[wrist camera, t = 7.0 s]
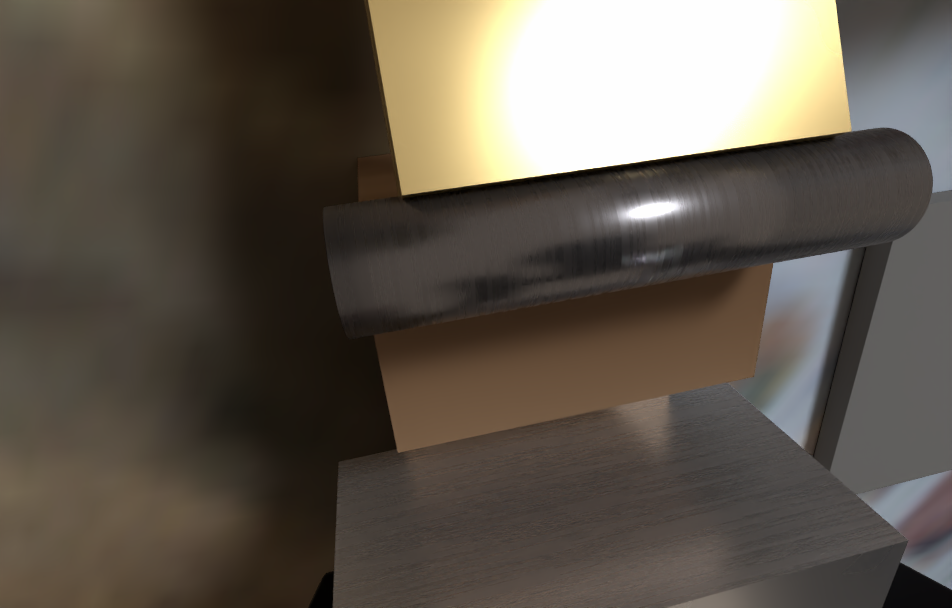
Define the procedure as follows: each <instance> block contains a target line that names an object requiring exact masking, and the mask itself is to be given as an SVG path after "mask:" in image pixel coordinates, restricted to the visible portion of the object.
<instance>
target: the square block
mask: <svg viewBox="0 0 952 608" xmlns="http://www.w3.org/2000/svg"><path fill="white" fill-rule="evenodd" d="M907 543H908V540H907V539H906V538H905V537H904V536H903V535H902V534H901V533H899V532H898V531H897V530H896V529H895V528H894V527H893V526H891V525H890V524H889V523H888V522H887V521H886V520H884V519H883V518H882V517H881V516H880V515H879V514H878V513H876V512H875V511H874V510H873V509H872V508H871V507H870V506H868V505H867V504H866V503H865V502H864V501H863V500H861V499H860V498H859V497H858V496H857V495H856V494H855V493H853V492H852V491H851V490H850V489H849V488H848V487H847V486H845V485H844V484H843V483H842V482H841V481H840V480H838V479H837V478H836V477H835V476H834V475H833V474H832V473H830V472H829V471H828V470H827V469H826V468H825V467H824V466H822V465H821V464H820V463H819V462H818V461H817V460H816V459H814V458H813V457H812V456H811V455H810V454H809V453H807V452H806V451H805V450H804V449H803V448H802V447H801V446H799V445H798V444H797V443H796V442H795V441H794V440H793V439H791V438H790V437H789V436H788V435H787V434H786V433H784V432H783V431H782V430H781V429H780V428H779V427H778V426H776V425H775V424H774V423H773V422H772V421H771V420H770V419H768V418H767V417H766V416H765V415H764V414H763V413H761V412H760V411H759V410H758V409H757V408H756V407H755V406H753V405H752V404H751V403H750V402H749V401H748V400H747V399H745V398H744V397H743V396H742V395H741V394H740V393H738V392H737V391H736V390H735V389H734V388H733V387H732V386H730V385H729V384H728V383H722V384H717V385H713V386H708V387H703V388H699V389H694V390H689V391H685V392H680V393H675V394H671V395H666V396H661V397H657V398H652V399H647V400H643V401H638V402H633V403H629V404H624V405H619V406H615V407H610V408H605V409H601V410H596V411H591V412H587V413H582V414H577V415H573V416H568V417H563V418H559V419H554V420H549V421H544V422H540V423H535V424H530V425H526V426H521V427H516V428H512V429H507V430H502V431H498V432H493V433H488V434H484V435H479V436H474V437H470V438H465V439H460V440H456V441H451V442H446V443H442V444H437V445H432V446H428V447H423V448H418V449H414V450H409V451H404V452H400V453H398V451H397V449H396V450H392V451H387V452H382V453H377V454H373V455H368V456H363V457H359V458H354V459H349V460H345V461H340V462H339V465H338V490H337V514H336V539H335V564H334V588H333V608H882V607H883V604H884V601H885V599H886V596H887V594H888V591H889V589H890V586H891V584H892V581H893V578H894V576H895V573H896V571H897V568H898V566H899V563H900V561H901V558H902V555H903V553H904V550H905V548H906V545H907Z"/></svg>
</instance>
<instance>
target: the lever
mask: <svg viewBox="0 0 952 608" xmlns="http://www.w3.org/2000/svg"><path fill="white" fill-rule="evenodd" d="M364 3H365V9H366V15H367V20H368V26H369V32H370V38H371V43H372V49H373V55H374V60H375V66H376V72H377V78H378V83H379V89H380V95H381V101H382V106H383V112H384V118H385V124H386V129H387V135H388V141H389V146H390V152H391V158H392V164H393V169H394V175H395V181H396V187H397V192H398V196H397V197H390V198H383V199H376V200H369V201H362V202H355V203H348V204H341V205H334V206H327V207H324V209H323V228H324V237H325V245H326V252H327V258H328V264H329V270H330V276H331V281H332V286H333V291H334V295H335V300H336V304H337V308H338V312H339V315H340V319H341V322H342V326H343V329H344V331H345V334H346V336H347V338H348V339H354V338H360V337H365V336H371V335H376V334H382V333H387V332H393V331H398V330H404V329H410V328H415V327H421V326H426V325H432V324H437V323H443V322H448V321H454V320H460V319H465V318H471V317H476V316H482V315H487V314H493V313H498V312H504V311H510V310H515V309H521V308H526V307H532V306H537V305H543V304H548V303H554V302H560V301H565V300H571V299H576V298H582V297H587V296H593V295H598V294H604V293H610V292H615V291H621V290H626V289H632V288H637V287H643V286H648V285H654V284H660V283H665V282H671V281H676V280H682V279H687V278H693V277H699V276H704V275H710V274H715V273H721V272H726V271H732V270H737V269H743V268H749V267H754V266H760V265H765V264H771V263H776V262H782V261H787V260H793V259H799V258H804V257H810V256H815V255H821V254H826V253H832V252H837V251H843V250H849V249H854V248H860V247H865V246H871V245H876V244H882V243H887V242H891V241H894V240H897V239H899V238H901V237H903V236H904V235H906V234H907V233H909V232H910V231H911V230H912V229H913V228H914V227H915V226H916V225H917V224H918V223H919V222H920V220H921V219H922V217H923V216H924V214H925V212H926V210H927V208H928V205H929V202H930V199H931V195H932V187H933V177H932V170H931V166H930V163H929V160H928V158H927V156H926V154H925V152H924V150H923V149H922V147H921V146H920V145H919V144H918V143H917V142H916V141H915V140H914V139H913V138H912V137H910V136H909V135H907V134H906V133H904V132H902V131H899V130H896V129H892V128H874V129H867V130H860V131H853V132H851V131H852V130H851V122H850V114H849V106H848V98H847V90H846V82H845V74H844V66H843V58H842V50H841V42H840V34H839V26H838V18H837V10H836V2H835V0H364Z"/></svg>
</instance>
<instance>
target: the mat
mask: <svg viewBox="0 0 952 608" xmlns="http://www.w3.org/2000/svg"><path fill="white" fill-rule="evenodd" d="M814 459H816V460H817V461H818V462H819V463H820V464H821V465H822V466H824V467H825V468H826V469H827V470H828V471H829V472H830V473H832V474H833V475H834V476H835V477H836V478H837V479H838V480H840V481H841V482H842V483H843V484H844V485H845V486H847V487H848V488H849V489H850V490H851V491H852V492H853V493H855V494H860V493H864V492H867V491H871V490H875V489H879V488H883V487H887V486H891V485H894V484H898V483H902V482H906V481H910V480H914V479H918V478H922V477H925V476H929V475H933V474H937V473H941V472H945V471H949V470H952V190H949V191H943V192H937V193H932V195H931V199H930V202H929V205H928V208H927V210H926V212H925V214H924V216H923V217H922V219H921V220H920V222H919V223H918V224H917V225H916V226H915V227H914V228H913V229H912V230H911V231H910V232H909V233H907V234H906V235H904V236H903V237H901V238H899V239H897V240H894V241H891V242H887V243H882V244H876V245H871V246H867V247H866V251H865V255H864V259H863V263H862V267H861V271H860V275H859V279H858V283H857V287H856V291H855V295H854V299H853V303H852V307H851V311H850V315H849V319H848V323H847V327H846V331H845V335H844V339H843V343H842V347H841V351H840V355H839V359H838V363H837V367H836V370H835V374H834V378H833V382H832V386H831V390H830V394H829V398H828V402H827V406H826V410H825V414H824V418H823V422H822V426H821V430H820V434H819V438H818V442H817V446H816V450H815V454H814Z"/></svg>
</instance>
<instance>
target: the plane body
mask: <svg viewBox="0 0 952 608" xmlns="http://www.w3.org/2000/svg"><path fill="white" fill-rule="evenodd" d="M357 160H358V200H359V202H362V201H369V200H376V199H383V198H390V197H397V196H398V192H397V187H396V181H395V175H394V169H393V164H392V158H391V154H384V155H376V156H369V157H361V158H357ZM772 268H773V263H771V264H765V265H760V266H754V267H749V268H743V269H737V270H732V271H726V272H721V273H715V274H710V275H704V276H699V277H693V278H687V279H682V280H676V281H671V282H665V283H660V284H654V285H648V286H643V287H637V288H632V289H626V290H621V291H615V292H610V293H604V294H598V295H593V296H587V297H582V298H576V299H571V300H565V301H560V302H554V303H548V304H543V305H537V306H532V307H526V308H521V309H515V310H510V311H504V312H498V313H493V314H487V315H482V316H476V317H471V318H465V319H460V320H454V321H448V322H443V323H437V324H432V325H426V326H421V327H415V328H410V329H404V330H398V331H393V332H387V333H382V334H376V335H374V339H375V344H376V349H377V354H378V359H379V364H380V368H381V373H382V378H383V383H384V388H385V393H386V398H387V402H388V407H389V412H390V417H391V422H392V427H393V432H394V437H395V441H396V446H397V451H398V453H400V452H404V451H409V450H414V449H418V448H423V447H428V446H432V445H437V444H442V443H446V442H451V441H456V440H460V439H465V438H470V437H474V436H479V435H484V434H488V433H493V432H498V431H502V430H507V429H512V428H516V427H521V426H526V425H530V424H535V423H540V422H544V421H549V420H554V419H559V418H563V417H568V416H573V415H577V414H582V413H587V412H591V411H596V410H601V409H605V408H610V407H615V406H619V405H624V404H629V403H633V402H638V401H643V400H647V399H652V398H657V397H661V396H666V395H671V394H675V393H680V392H685V391H689V390H694V389H699V388H703V387H708V386H713V385H717V384H722V383H727V382H731V381H736V380H741V379H745V378H750V377H754V373H755V368H756V362H757V356H758V350H759V344H760V338H761V332H762V327H763V321H764V315H765V309H766V303H767V297H768V291H769V286H770V280H771V274H772Z"/></svg>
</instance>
